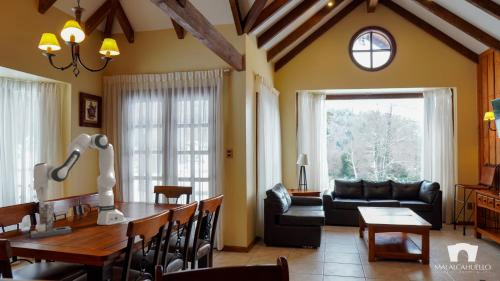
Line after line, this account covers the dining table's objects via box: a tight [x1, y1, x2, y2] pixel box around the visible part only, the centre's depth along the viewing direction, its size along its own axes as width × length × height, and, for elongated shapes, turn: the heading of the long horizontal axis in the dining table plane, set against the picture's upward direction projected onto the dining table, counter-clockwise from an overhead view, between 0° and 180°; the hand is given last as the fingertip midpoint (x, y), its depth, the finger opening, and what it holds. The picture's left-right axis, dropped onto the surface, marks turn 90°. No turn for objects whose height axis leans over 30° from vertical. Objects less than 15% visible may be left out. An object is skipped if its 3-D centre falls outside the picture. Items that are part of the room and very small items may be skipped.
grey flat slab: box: [30, 225, 72, 239], centre depth 247 cm, size 24×10×3 cm, turn 125°
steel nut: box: [36, 223, 45, 232], centre depth 244 cm, size 4×4×8 cm
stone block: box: [38, 201, 55, 229], centre depth 263 cm, size 13×7×20 cm, turn 14°
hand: (41, 206), depth 244 cm, fingers open, 8 cm apart
